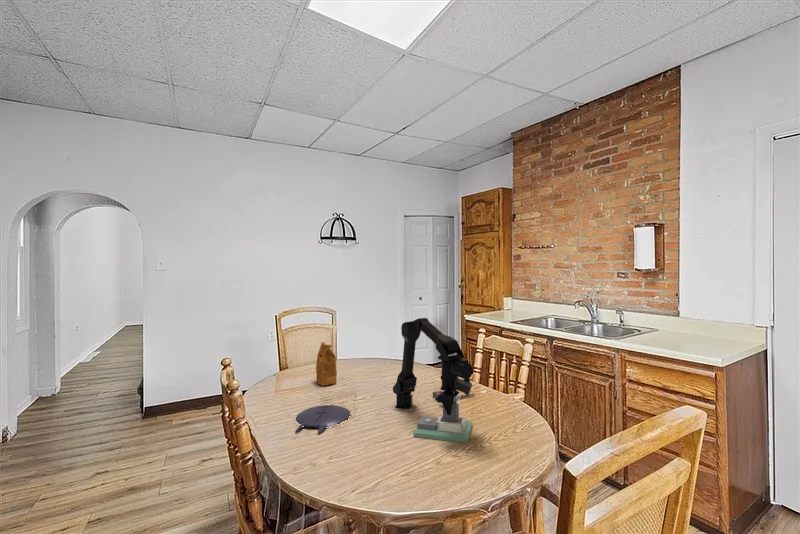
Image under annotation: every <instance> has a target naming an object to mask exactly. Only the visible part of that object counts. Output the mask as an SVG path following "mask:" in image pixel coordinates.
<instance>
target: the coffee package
mask: <svg viewBox="0 0 800 534" xmlns="http://www.w3.org/2000/svg"><path fill="white" fill-rule="evenodd" d="M331 348H332V345H331V344H326V342H324V341H321V345H320V347H319V349H318V352H317V357H316V367H315V370H316V371H315V372H316V374H315V375H316V379H315V381H316V383H317V382H318V383H317V384H318V385H319V384H320V385H323V386H322V387H325V386H324V385H326V386H329V385H333V384H336V383H337V357H336V355H335V354H334V353H333V351H332V349H331ZM320 385H319V386H320Z"/></svg>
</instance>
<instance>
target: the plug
mask: <svg viewBox="0 0 800 534" xmlns="http://www.w3.org/2000/svg"><path fill="white" fill-rule="evenodd" d="M438 407H439V408H440V409H442V415H443V421H451V422H456V421H457V422H459V417H460V404H459V403H458V400H455V402H454V403H453V404H452V410H451V415H448V414H447V412H446V410H445V408H444V406H443V404H442V403H439V404H438Z"/></svg>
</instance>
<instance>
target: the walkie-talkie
mask: <svg viewBox="0 0 800 534" xmlns="http://www.w3.org/2000/svg"><path fill="white" fill-rule="evenodd" d="M441 391H442V392H444V390H441V389H439V390H437V391H432V398H433V399H434V398H435V399H434V401H437V396H438V394H439V393H440V392H441ZM475 395H476V394H475V393H469V395H466V394H460V392H459V393H458V395H457V396H456V397H455V398H456V400H455V401H458V399H461V400H462V399H464V398H468V397H469V398H470V397H471V396H475Z"/></svg>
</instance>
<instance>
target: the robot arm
mask: <svg viewBox="0 0 800 534" xmlns="http://www.w3.org/2000/svg"><path fill="white" fill-rule="evenodd" d="M400 330H401V336H402V338H403V340H404V343H403V352H402V353H403V354H402V364H401V371H400V372H399V374H398V375H397V377H396V378H397V379H396V382H395V384H394V385H393V387H392V392H393V393H394V395H396V405H395V408H398V409H406V410H407V409H408V410H409V409H410V408H411V407H412V406H413V404H414V403H413V401H414V400H413V394H412V393H413V392H415V390H416V386H417V381H418V379H417V376H415V373H414V363H415V352H416V342H417V341H418V340H419V338H420V336H421V334H422V333H423V334H424V335H425V336H426V337H428V339H430V341H432V342H433V343H434V346H435V349H436V350H437V352H438V353H439V354H440V355H439V356H438V357H437V359H438V360H440V361H441V362H440V365H441V375H440V380H441V386H440V390H442V391H443V390H444V392H442V391H441V392H440V393H439V394H438V396H437V400H436V403H439V404H443V406H444V408H445V410H446V412H447V414H448V415H451V410H452V404H453V403H454V402H455V401H457V400H456V398H455V397H456V396H457V395H458V393H459V394H460V392H461V393H463V394H464V395H469V394H471V393H470V392H471V391H472V390H471V389H472V386H473V382H471V379H470V378H471V377H472V375H473V372H474V368H473V366H472V364H471V363H469V359H467V358H465V355H464V352H463V350H462V348H461V347H460V344H459V342H458V340H457V339H455V338H453V337H451V336H450V335H446V334H444V333H442V331H440V330H439V328H437V327H436V326H435V325H433V324H432V322H430V321H429V319H428V317H427V318H426V317H421V318H417V319H415V320H412V321H404V322H403V323H401V329H400ZM421 332H422V333H421Z"/></svg>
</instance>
